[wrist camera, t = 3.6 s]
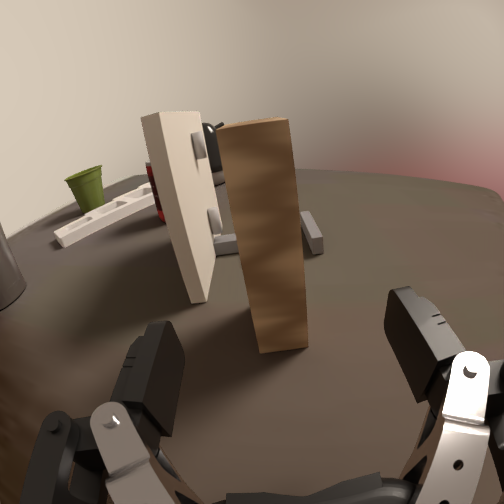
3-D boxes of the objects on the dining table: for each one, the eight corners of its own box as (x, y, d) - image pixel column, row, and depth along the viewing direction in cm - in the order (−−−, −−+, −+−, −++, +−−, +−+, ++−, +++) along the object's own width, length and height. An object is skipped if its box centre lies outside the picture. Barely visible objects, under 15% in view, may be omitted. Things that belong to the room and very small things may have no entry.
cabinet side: (191, 303, 26) (140, 117, 18) (212, 227, 42) (188, 113, 34) (337, 284, 25) (325, 86, 17) (304, 214, 41) (290, 97, 33)
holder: (64, 250, 47) (59, 238, 46) (52, 236, 59) (48, 226, 58) (223, 177, 75) (221, 167, 74) (185, 176, 87) (183, 168, 85)
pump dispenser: (243, 180, 66) (232, 117, 59) (202, 192, 62) (188, 126, 55) (225, 175, 74) (214, 120, 67) (188, 186, 70) (176, 128, 63)
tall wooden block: (259, 353, 20) (215, 129, 13) (257, 302, 25) (225, 124, 18) (308, 347, 19) (288, 119, 12) (297, 297, 25) (276, 117, 18)
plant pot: (68, 219, 68) (56, 182, 62) (93, 204, 78) (83, 170, 72) (94, 214, 65) (82, 173, 59) (120, 198, 75) (110, 161, 69)
